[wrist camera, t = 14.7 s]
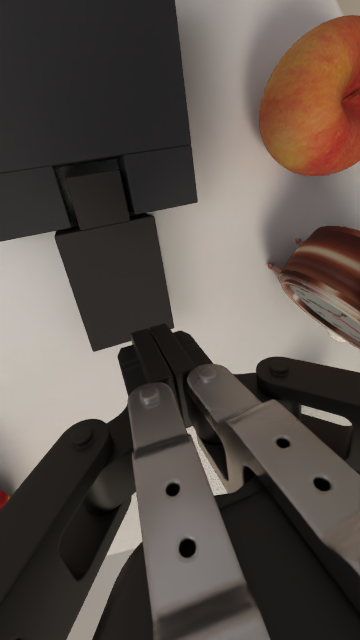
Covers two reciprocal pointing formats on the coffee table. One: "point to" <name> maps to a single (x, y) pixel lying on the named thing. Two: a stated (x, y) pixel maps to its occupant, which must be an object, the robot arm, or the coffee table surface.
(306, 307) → the alarm clock
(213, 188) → the coffee table surface
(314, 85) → the apple
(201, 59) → the coffee table surface
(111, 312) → the black pad
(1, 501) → the beverage can
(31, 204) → the graphite pad
